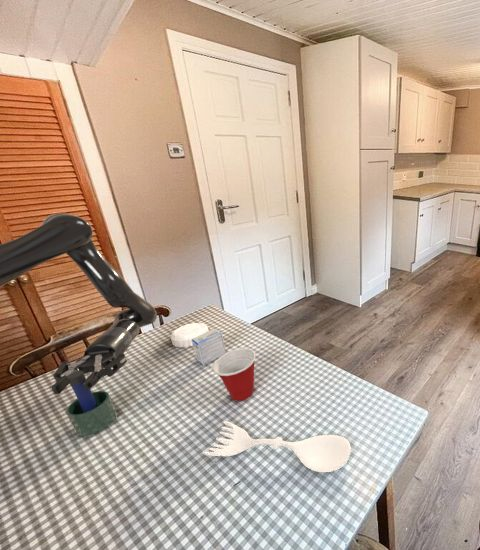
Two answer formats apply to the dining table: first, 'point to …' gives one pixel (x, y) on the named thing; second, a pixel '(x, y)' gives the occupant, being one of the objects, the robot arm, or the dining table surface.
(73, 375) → the marker
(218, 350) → the medicine box
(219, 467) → the dining table surface
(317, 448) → the white spork
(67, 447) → the dining table surface
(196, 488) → the dining table surface
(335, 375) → the dining table surface
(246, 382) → the plastic cup
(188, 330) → the mooncake
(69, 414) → the tumbler
